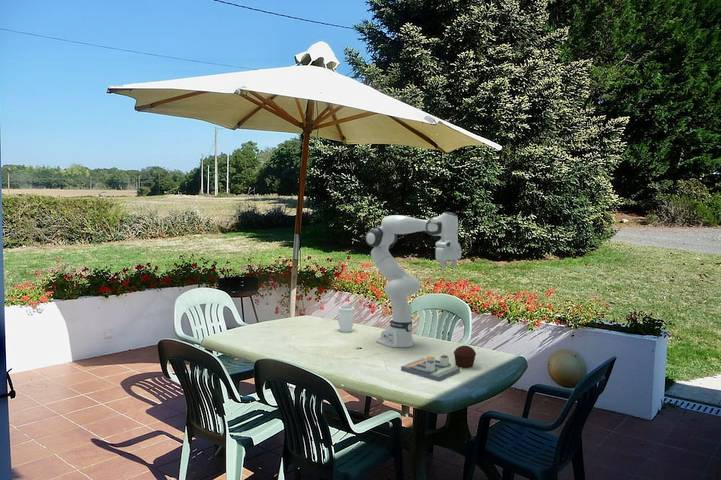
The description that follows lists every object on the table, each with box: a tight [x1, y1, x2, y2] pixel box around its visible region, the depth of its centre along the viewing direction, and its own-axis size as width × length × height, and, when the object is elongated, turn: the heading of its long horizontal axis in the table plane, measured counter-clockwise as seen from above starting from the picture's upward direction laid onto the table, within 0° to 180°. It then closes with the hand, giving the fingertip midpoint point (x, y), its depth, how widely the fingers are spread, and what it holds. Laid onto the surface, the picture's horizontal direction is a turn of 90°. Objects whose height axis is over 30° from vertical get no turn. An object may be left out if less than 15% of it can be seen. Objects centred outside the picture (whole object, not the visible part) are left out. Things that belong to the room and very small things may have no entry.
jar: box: [337, 305, 355, 333], centre depth 336 cm, size 11×10×15 cm
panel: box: [400, 358, 461, 382], centre depth 260 cm, size 22×19×3 cm
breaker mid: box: [425, 355, 436, 362], centre depth 260 cm, size 3×3×5 cm
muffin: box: [453, 345, 477, 369], centre depth 269 cm, size 12×11×10 cm
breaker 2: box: [439, 354, 450, 366], centre depth 261 cm, size 3×3×5 cm
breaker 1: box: [426, 360, 435, 372], centre depth 253 cm, size 3×3×5 cm
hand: (448, 268), depth 282 cm, fingers open, 8 cm apart
